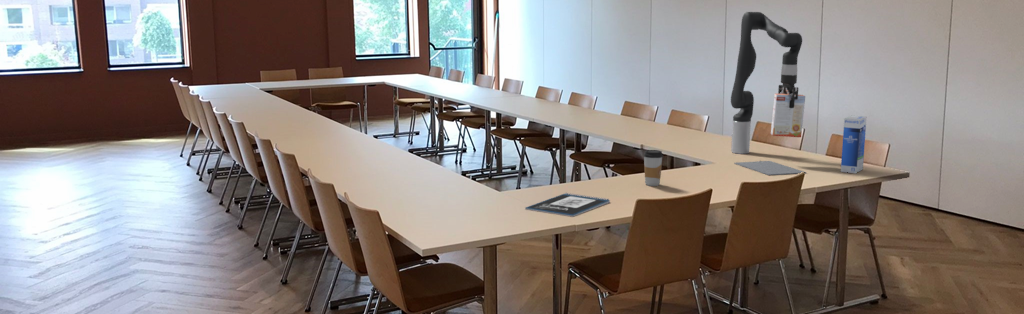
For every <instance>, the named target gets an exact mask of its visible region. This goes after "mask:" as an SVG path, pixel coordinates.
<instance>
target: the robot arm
mask: <svg viewBox="0 0 1024 314" xmlns="http://www.w3.org/2000/svg"><path fill="white" fill-rule="evenodd" d="M740 24H741V26H740V27H741V28H740V41H739V50H738V55H737V61H736V62H737V64H736V72H735V78H734V82H733V86H732V91H731V95H730V105H731V106H732V108H733V109H736V110H737V109H739V111H738V112H736V113H735V114H734V115H733V117H732V134H731V150H730V151H731V152H732V153H733V154H741V155H742V154H743V155H745V154H750V149H751V147H750V146H751V145H750V144H751V124H752V123H751V122H752V117H753V112H754V103H755V102H754V101H755V99H754V98H755V97H754V94H753V93H752V92H751V91H750V90H745V86H746V83H747V81H748V79H749V78H750V76H751V75H752V73H753V72H754V70H755V68H756V62H757V53H756V52H757V51H756V50H755V47H754V45H753V42H752V31H758V30H761V31H765V32H766V34H767V35H768V37H770V38H771V39H773V40H774V41H776V42H777V43H778V44H779V45H780V46H781V47H783V48H789V50H788V51H787V52H786V51H785V52H784V53H783V54H782V64H781V69H780V70H781V73H780V84H779V85H778V89H777V90H778V92H777V94H788V96H789V98H790V103H789V108H794V101H795V100H796V99H798V95H799V87H797V86H796V87H795V85H796V84H797V83H798V82H797V80H798V57H799V53H800V51H801V48H802V45H803V36H802V35H801V33H799V32H789V31H788V30H787V29H786V28H784V27H783V26H781V25H778V24H777V23H775V22H773V21H772V19H770V18H769V17H768V16H766V15H765V13H762V12H761V11H746V12H745V13H744V14H743V15H742V18H741V23H740ZM795 95H796V97H795ZM791 96H792V97H791Z"/></svg>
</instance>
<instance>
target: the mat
mask: <svg viewBox="0 0 1024 314" xmlns="http://www.w3.org/2000/svg"><path fill="white" fill-rule="evenodd" d="M734 165H737V166H740V167H742V168H743V167H744V168H745V169H748V170H751V171H755V172H758V173H761V174H763V175H767V176H780V175H781V176H782V175H786V176H787V175H799V174H798V173H801V172H805V173H804V174H807V172H806V171H804V170H800V169H797V168H794V167H791V166H787V165H784V164H782V163H778V162H775V161H772V160H761V161H757V160H756V161H745V162H744V161H743V162H742V161H740V162H734Z"/></svg>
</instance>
